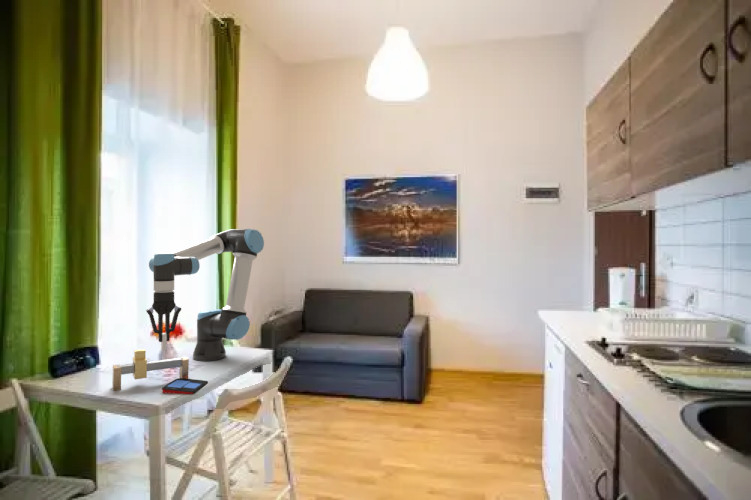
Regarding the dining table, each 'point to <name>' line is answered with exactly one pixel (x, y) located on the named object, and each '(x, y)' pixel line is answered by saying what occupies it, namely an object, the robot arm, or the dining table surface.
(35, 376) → the dining table surface
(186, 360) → the grey rail on posts
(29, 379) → the dining table surface
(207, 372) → the dining table surface
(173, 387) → the game console
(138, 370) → the beige wooden block
